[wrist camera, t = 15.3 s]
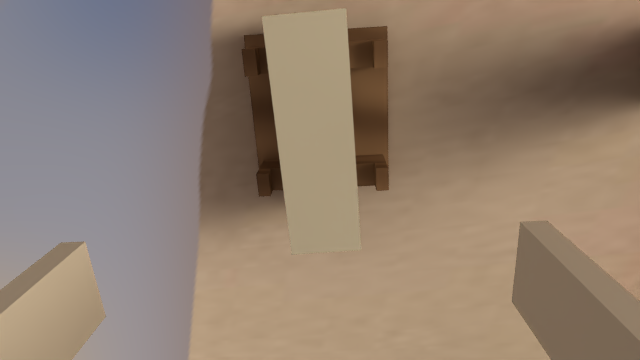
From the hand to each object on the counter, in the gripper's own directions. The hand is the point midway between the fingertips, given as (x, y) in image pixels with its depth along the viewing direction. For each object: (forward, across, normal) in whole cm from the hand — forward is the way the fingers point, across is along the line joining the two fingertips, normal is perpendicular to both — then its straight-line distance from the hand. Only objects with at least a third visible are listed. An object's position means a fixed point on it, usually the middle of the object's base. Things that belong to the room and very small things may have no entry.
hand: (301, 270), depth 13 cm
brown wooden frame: (+27, 0, 0) cm, 27 cm away
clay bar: (+23, 0, 0) cm, 23 cm away
